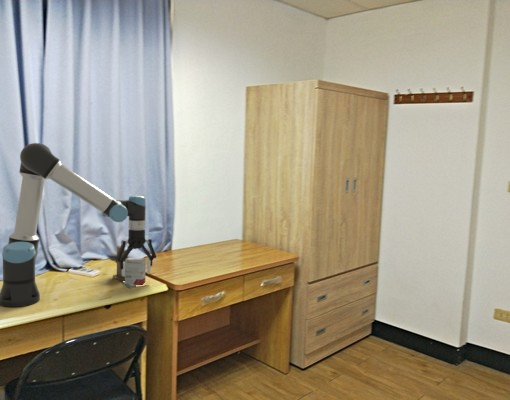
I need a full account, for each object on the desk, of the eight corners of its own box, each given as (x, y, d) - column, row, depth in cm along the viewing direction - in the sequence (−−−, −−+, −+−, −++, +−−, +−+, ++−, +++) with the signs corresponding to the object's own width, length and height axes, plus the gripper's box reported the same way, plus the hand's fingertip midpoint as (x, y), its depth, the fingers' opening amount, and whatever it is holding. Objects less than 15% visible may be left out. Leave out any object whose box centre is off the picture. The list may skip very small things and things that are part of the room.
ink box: (145, 282, 222) (146, 258, 221) (142, 285, 217) (142, 260, 216) (128, 281, 223) (128, 256, 222) (124, 283, 218) (125, 259, 217)
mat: (128, 288, 213) (128, 287, 213) (122, 282, 222) (122, 281, 222) (149, 285, 219) (149, 284, 219) (142, 280, 227) (142, 279, 227)
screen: (120, 282, 222) (121, 251, 221) (113, 276, 232) (113, 246, 231) (127, 281, 224) (127, 250, 222) (119, 275, 234) (120, 246, 232)
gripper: (113, 231, 208) (113, 279, 210) (164, 228, 221) (163, 273, 223) (108, 228, 214) (108, 275, 216) (158, 226, 227) (157, 269, 229)
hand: (136, 274), depth 220 cm, fingers open, 11 cm apart
